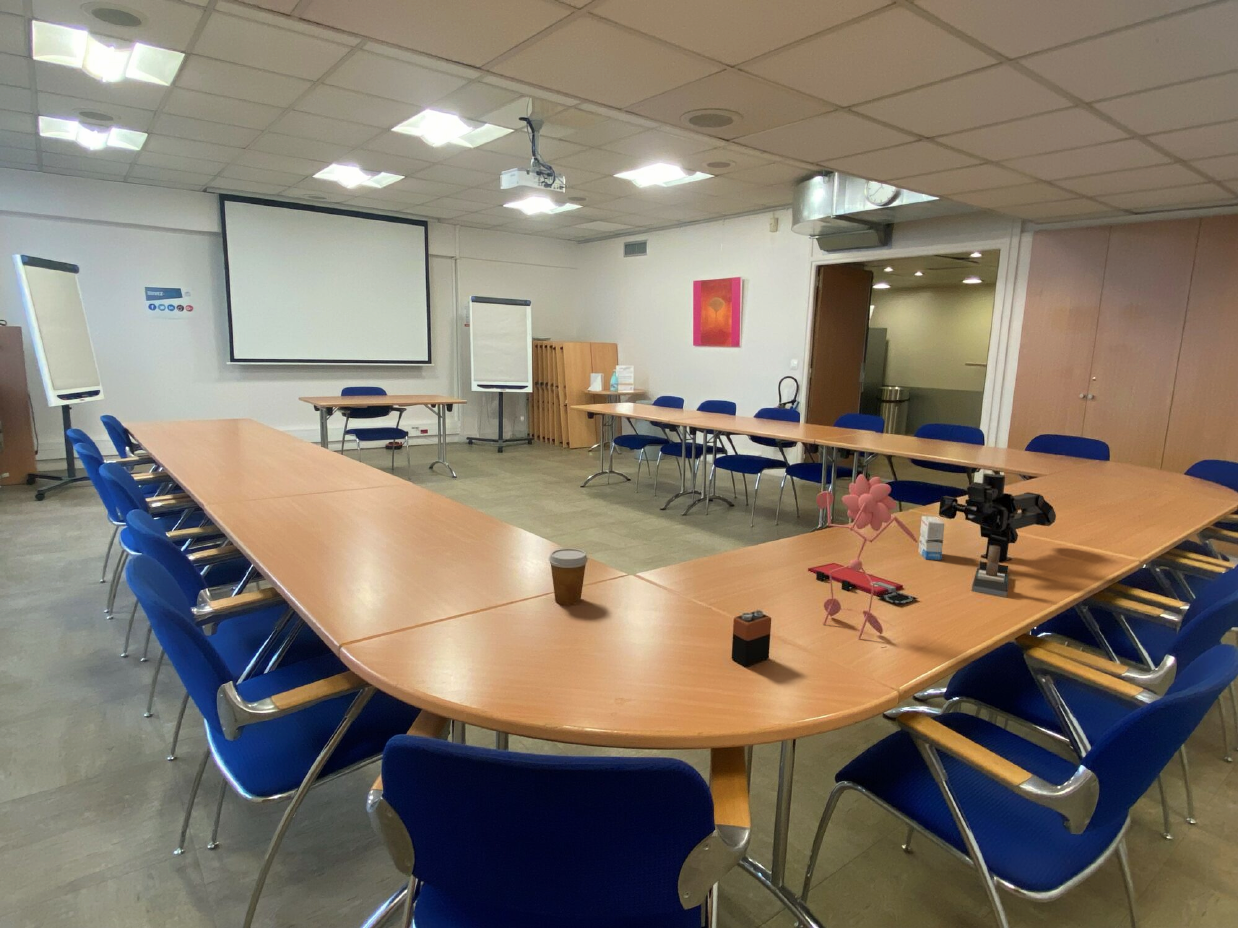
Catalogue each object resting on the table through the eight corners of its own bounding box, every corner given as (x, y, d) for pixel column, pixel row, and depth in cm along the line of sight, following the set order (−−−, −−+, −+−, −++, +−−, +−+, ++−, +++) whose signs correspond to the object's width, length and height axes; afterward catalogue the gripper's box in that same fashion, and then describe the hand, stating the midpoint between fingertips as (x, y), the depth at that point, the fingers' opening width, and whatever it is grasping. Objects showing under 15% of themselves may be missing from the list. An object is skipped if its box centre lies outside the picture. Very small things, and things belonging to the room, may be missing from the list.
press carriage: (978, 578, 178) (982, 542, 176) (1003, 583, 174) (1008, 546, 173) (976, 584, 173) (981, 547, 172) (1002, 588, 170) (1007, 551, 168)
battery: (730, 659, 132) (732, 612, 130) (754, 651, 136) (756, 605, 134) (745, 668, 128) (748, 620, 126) (769, 659, 132) (772, 612, 130)
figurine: (892, 654, 135) (910, 488, 130) (792, 613, 156) (804, 468, 150) (931, 638, 144) (949, 482, 139) (831, 601, 165) (844, 464, 159)
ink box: (941, 560, 199) (945, 523, 197) (924, 559, 200) (928, 522, 198) (934, 552, 207) (938, 516, 205) (917, 551, 208) (921, 515, 206)
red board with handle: (893, 609, 160) (928, 598, 168) (894, 598, 160) (929, 588, 168) (798, 574, 185) (833, 567, 193) (799, 565, 184) (834, 558, 192)
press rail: (976, 572, 188) (978, 560, 188) (1008, 577, 184) (1010, 566, 184) (971, 590, 173) (972, 578, 173) (1006, 597, 169) (1007, 584, 169)
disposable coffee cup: (592, 596, 164) (593, 550, 162) (578, 610, 155) (578, 561, 153) (558, 591, 167) (558, 545, 165) (541, 604, 158) (542, 556, 156)
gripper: (957, 477, 200) (927, 482, 192) (1021, 488, 185) (992, 494, 176) (953, 512, 202) (924, 519, 194) (1017, 526, 186) (987, 534, 178)
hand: (955, 516), depth 185 cm, fingers open, 9 cm apart
